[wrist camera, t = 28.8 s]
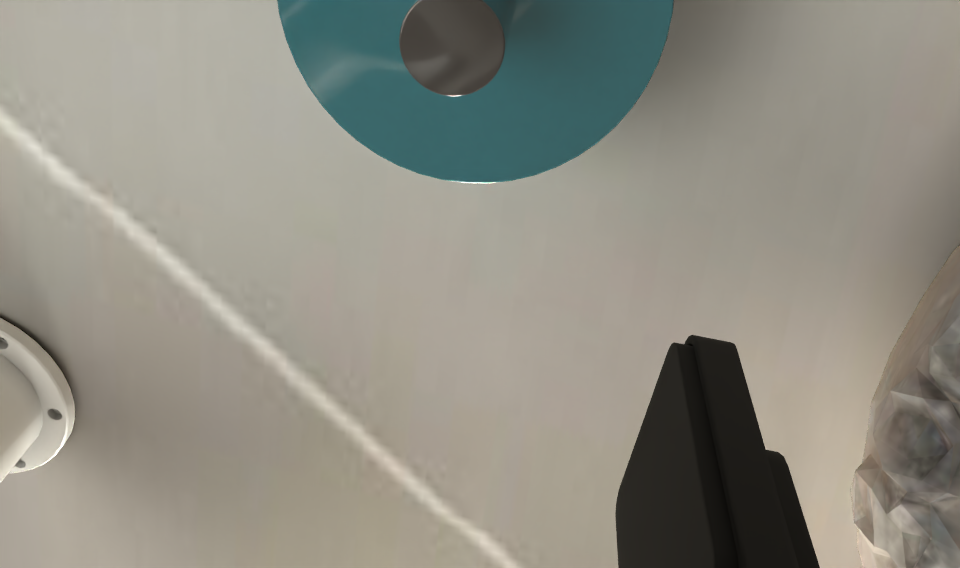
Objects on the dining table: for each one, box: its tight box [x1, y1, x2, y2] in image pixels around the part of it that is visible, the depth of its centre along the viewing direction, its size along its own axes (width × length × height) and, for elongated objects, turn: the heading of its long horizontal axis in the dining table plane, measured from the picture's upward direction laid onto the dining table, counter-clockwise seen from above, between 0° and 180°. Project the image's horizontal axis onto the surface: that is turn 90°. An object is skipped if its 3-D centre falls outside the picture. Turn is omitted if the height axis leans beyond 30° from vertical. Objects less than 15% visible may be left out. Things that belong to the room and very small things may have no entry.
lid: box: [277, 0, 674, 183], centre depth 27 cm, size 13×13×7 cm
